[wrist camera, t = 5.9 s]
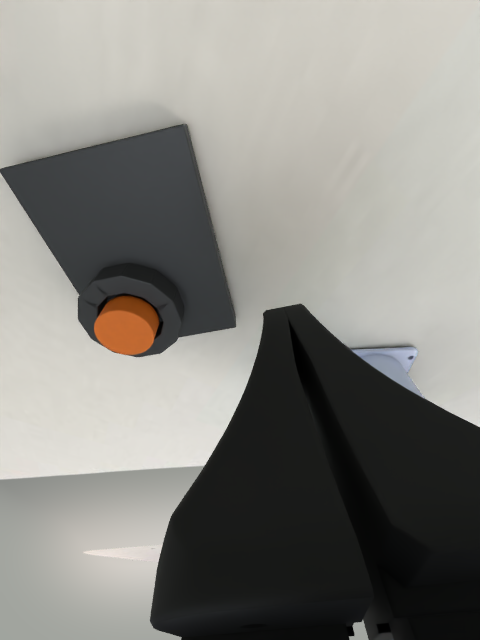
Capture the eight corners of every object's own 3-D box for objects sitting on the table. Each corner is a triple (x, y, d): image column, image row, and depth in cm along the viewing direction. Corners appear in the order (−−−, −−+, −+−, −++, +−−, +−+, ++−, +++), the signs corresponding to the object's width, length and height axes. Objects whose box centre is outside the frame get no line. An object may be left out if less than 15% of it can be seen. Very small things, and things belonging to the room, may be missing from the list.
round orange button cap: (166, 333, 19) (162, 350, 18) (118, 342, 20) (110, 359, 18) (147, 290, 17) (140, 305, 16) (93, 300, 17) (81, 316, 16)
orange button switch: (235, 316, 22) (237, 343, 20) (119, 338, 23) (106, 365, 20) (186, 123, 14) (178, 125, 12) (14, 165, 15) (-29, 175, 13)
